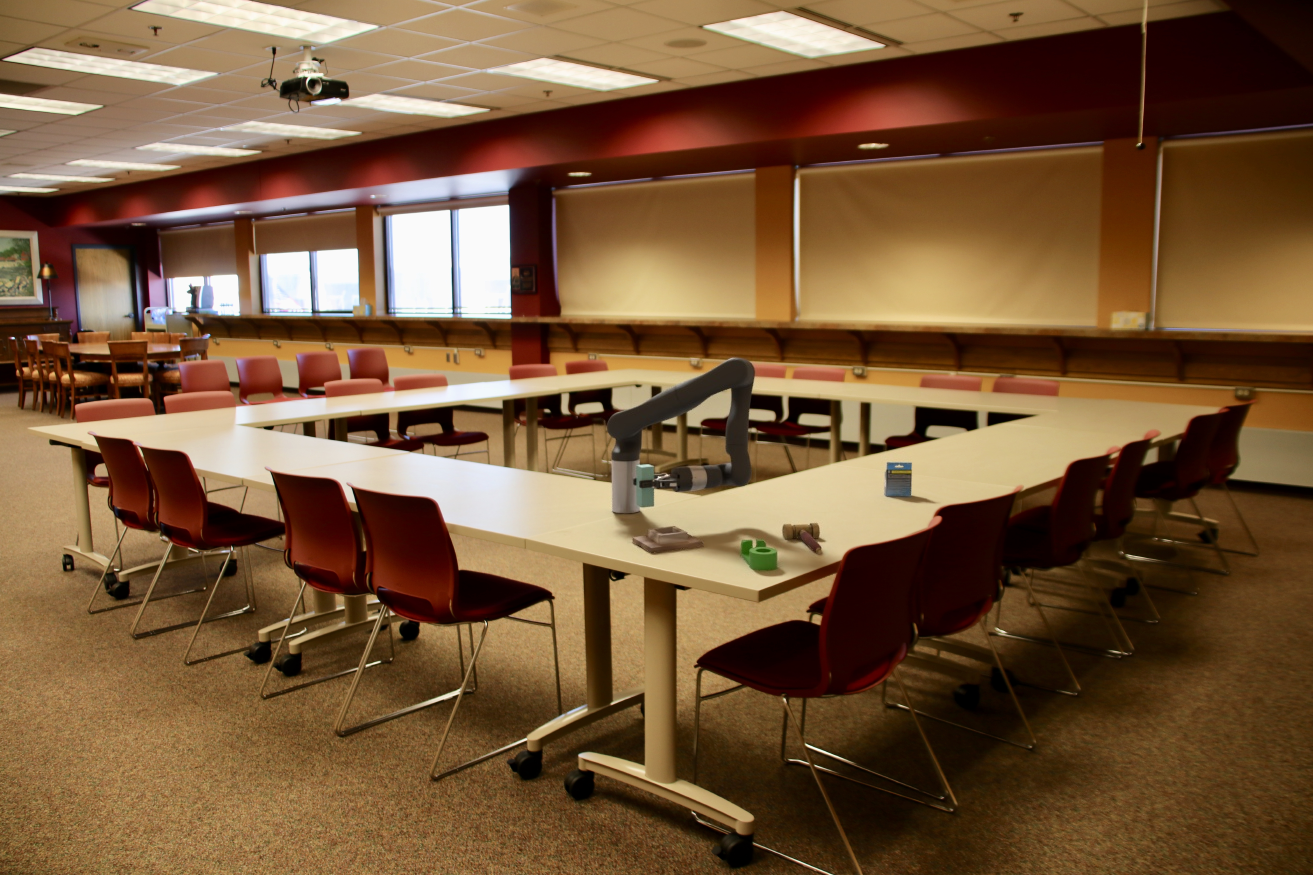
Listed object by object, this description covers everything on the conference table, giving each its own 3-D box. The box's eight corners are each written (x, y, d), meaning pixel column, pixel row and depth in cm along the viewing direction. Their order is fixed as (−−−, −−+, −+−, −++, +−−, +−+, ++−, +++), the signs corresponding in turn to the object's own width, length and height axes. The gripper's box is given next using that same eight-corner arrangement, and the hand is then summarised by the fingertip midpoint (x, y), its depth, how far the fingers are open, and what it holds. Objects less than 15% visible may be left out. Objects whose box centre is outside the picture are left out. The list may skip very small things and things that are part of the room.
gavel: (838, 543, 244) (802, 545, 243) (838, 559, 245) (802, 561, 244) (815, 520, 264) (782, 522, 263) (814, 535, 265) (781, 537, 264)
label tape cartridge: (909, 494, 321) (910, 460, 320) (911, 497, 318) (912, 462, 316) (883, 494, 322) (884, 460, 321) (885, 496, 318) (886, 462, 317)
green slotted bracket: (780, 571, 230) (780, 553, 229) (753, 572, 229) (753, 554, 228) (765, 555, 245) (765, 538, 244) (739, 556, 244) (739, 539, 243)
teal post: (636, 504, 269) (636, 465, 267) (648, 503, 271) (648, 464, 269) (641, 507, 265) (641, 467, 264) (654, 506, 267) (654, 466, 265)
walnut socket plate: (632, 542, 258) (632, 528, 258) (682, 536, 265) (682, 522, 264) (651, 553, 246) (651, 538, 246) (703, 546, 253) (703, 532, 252)
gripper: (678, 462, 279) (627, 466, 272) (699, 470, 266) (646, 474, 259) (678, 486, 280) (627, 491, 273) (699, 495, 267) (646, 500, 260)
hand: (636, 483), depth 266 cm, fingers closed on teal post, 4 cm apart
